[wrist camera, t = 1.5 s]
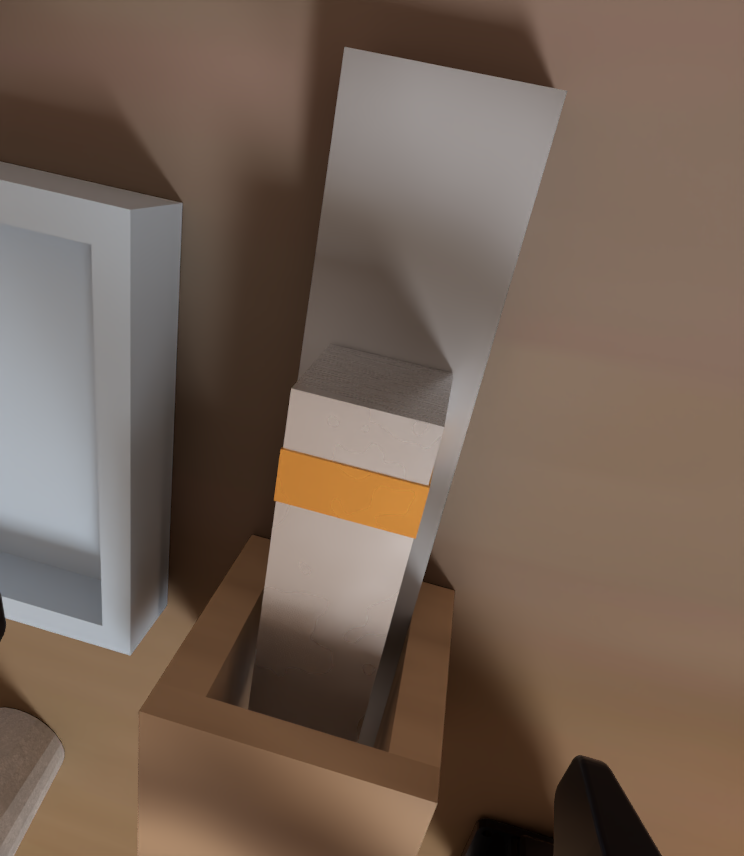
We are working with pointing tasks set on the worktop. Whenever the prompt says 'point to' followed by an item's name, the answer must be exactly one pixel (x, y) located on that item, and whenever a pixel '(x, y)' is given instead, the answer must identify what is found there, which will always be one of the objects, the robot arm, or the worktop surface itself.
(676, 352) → the worktop surface
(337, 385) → the beige and orange bar
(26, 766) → the house plant
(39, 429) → the tray
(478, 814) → the worktop surface
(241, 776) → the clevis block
